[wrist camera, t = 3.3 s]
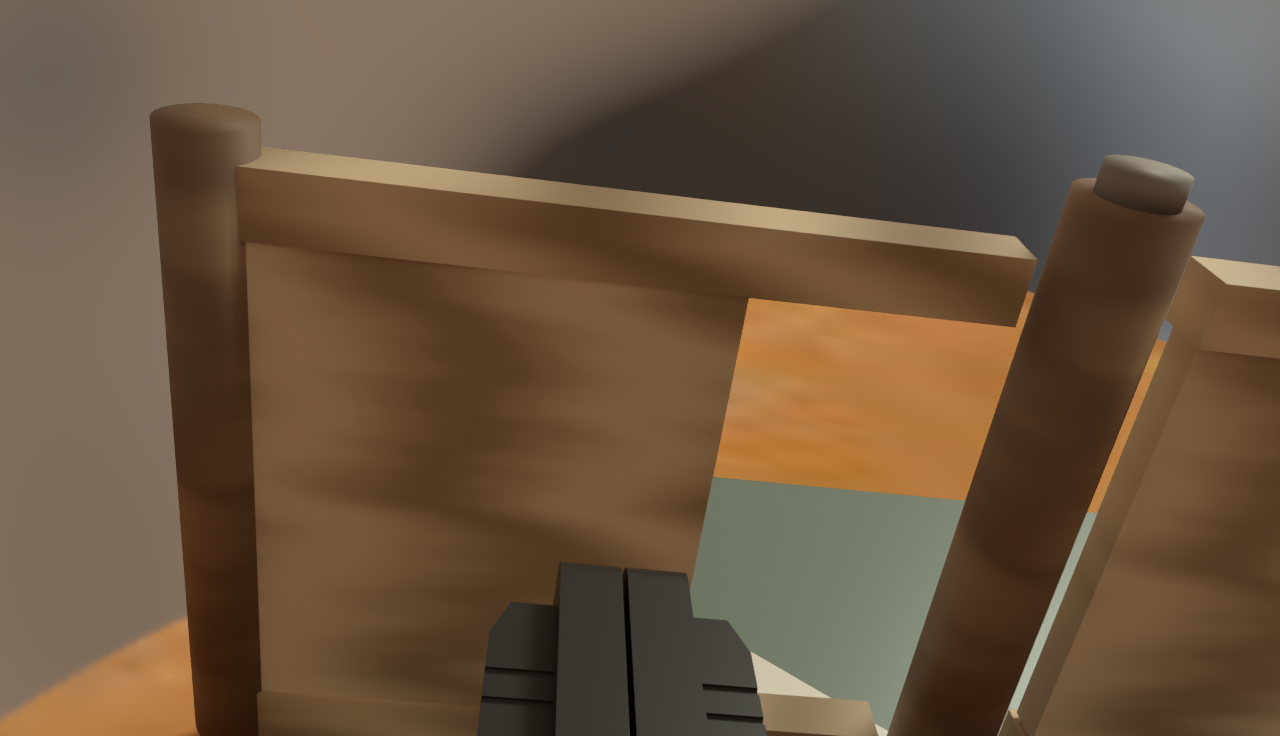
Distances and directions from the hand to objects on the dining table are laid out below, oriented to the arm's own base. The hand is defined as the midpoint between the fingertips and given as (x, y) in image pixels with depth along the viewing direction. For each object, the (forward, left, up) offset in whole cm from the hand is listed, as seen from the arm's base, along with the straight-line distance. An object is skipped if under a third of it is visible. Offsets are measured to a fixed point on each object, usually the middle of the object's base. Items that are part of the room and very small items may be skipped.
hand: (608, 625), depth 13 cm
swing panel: (0, -9, -12) cm, 15 cm away
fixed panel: (-15, -9, -12) cm, 22 cm away
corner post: (-10, -9, -12) cm, 18 cm away
